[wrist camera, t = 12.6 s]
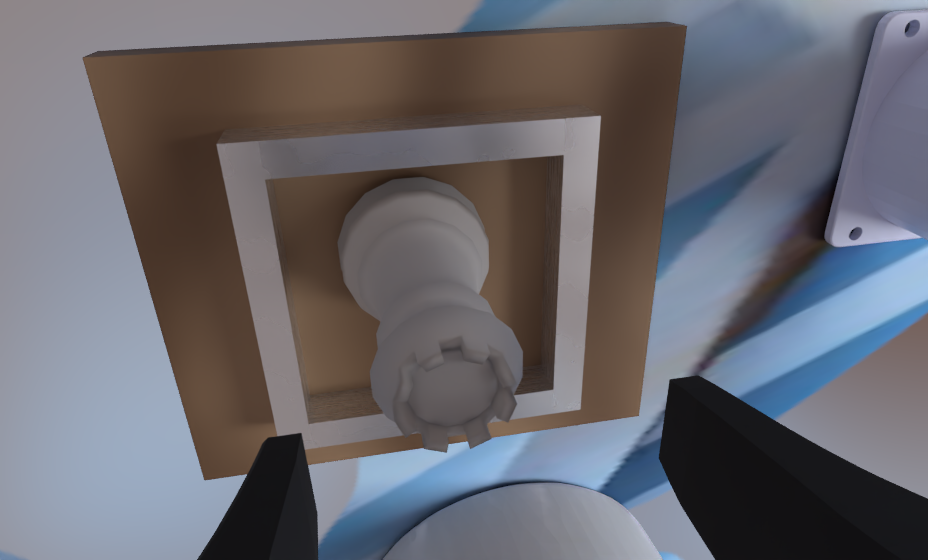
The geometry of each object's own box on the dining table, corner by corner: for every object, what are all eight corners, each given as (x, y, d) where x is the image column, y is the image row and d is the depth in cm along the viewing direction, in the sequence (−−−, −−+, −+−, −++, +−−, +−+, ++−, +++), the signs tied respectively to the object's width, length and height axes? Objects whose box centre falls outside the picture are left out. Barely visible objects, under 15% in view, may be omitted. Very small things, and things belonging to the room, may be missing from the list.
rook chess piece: (495, 283, 21) (579, 450, 14) (362, 322, 20) (378, 513, 13) (465, 153, 19) (546, 273, 12) (316, 195, 18) (306, 344, 11)
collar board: (667, 22, 19) (714, 31, 17) (626, 396, 26) (656, 442, 23) (97, 50, 17) (60, 67, 14) (210, 456, 23) (196, 513, 21)
